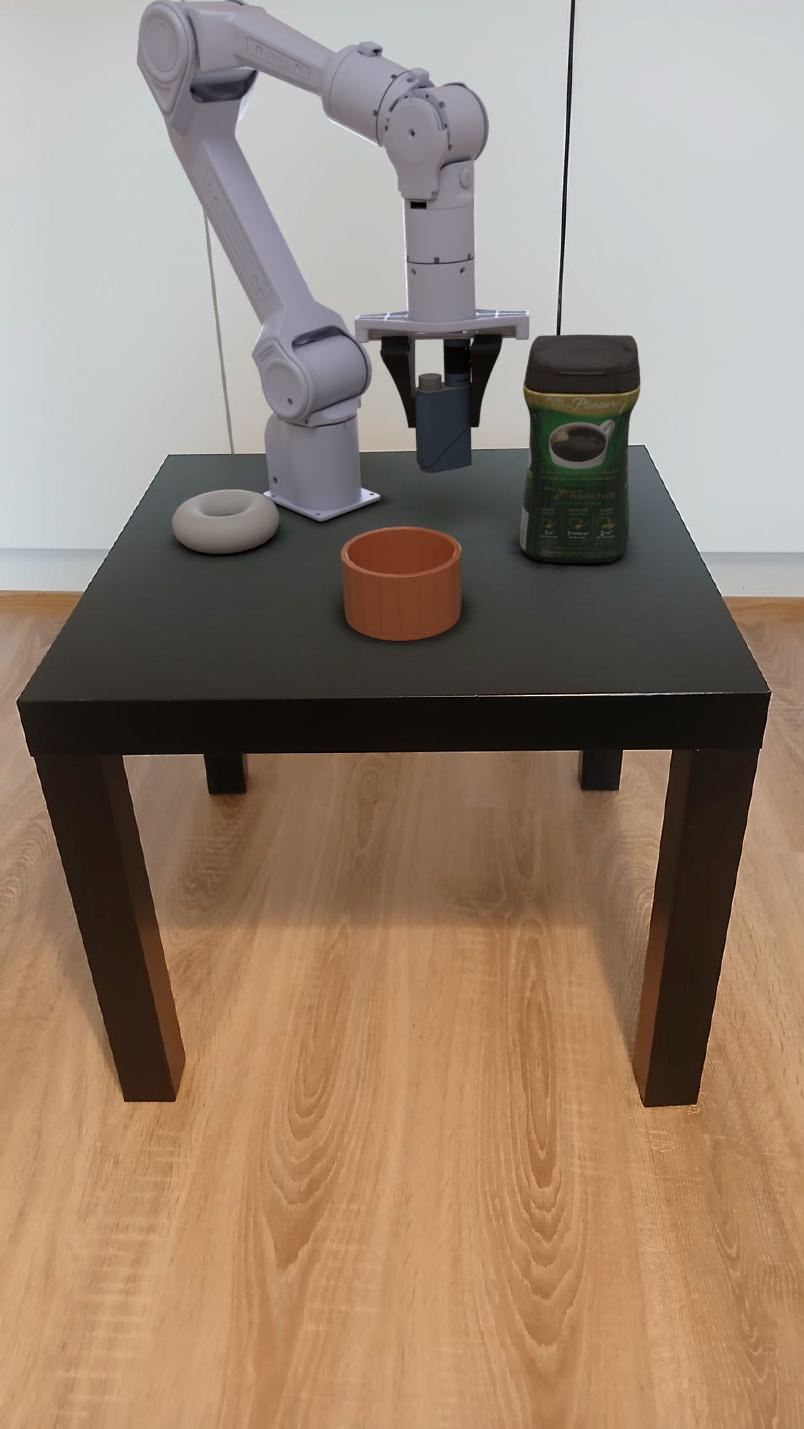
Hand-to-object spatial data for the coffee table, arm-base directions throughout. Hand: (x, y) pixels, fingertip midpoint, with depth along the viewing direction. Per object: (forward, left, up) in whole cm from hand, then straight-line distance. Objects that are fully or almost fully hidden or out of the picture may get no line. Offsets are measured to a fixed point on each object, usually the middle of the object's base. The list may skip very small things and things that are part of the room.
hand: (444, 424), depth 93 cm
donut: (-14, -14, -11) cm, 23 cm away
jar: (+9, -13, -10) cm, 19 cm away
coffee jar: (+11, +5, -11) cm, 16 cm away
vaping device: (0, 0, -4) cm, 4 cm away
